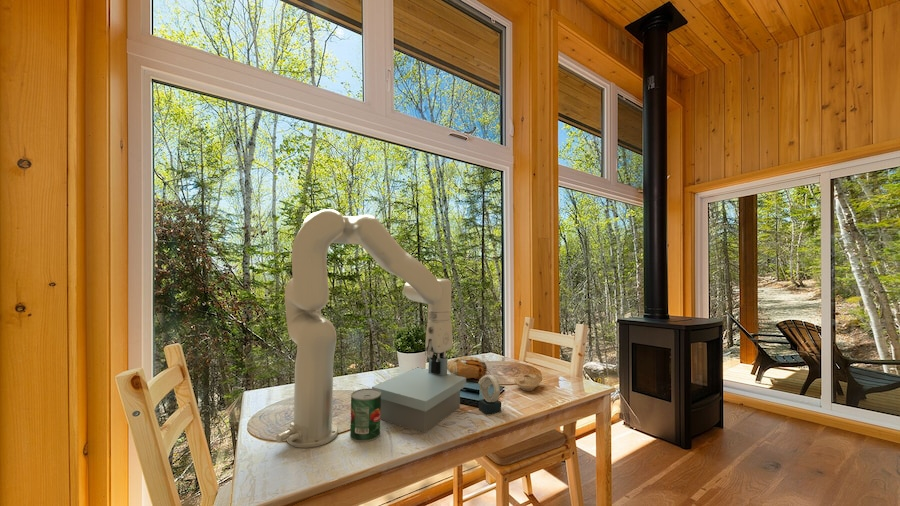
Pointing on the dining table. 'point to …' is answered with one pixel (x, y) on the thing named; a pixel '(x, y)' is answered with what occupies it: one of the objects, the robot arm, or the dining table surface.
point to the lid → (421, 387)
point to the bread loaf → (467, 367)
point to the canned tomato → (365, 415)
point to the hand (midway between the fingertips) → (437, 371)
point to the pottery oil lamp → (528, 381)
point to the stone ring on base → (489, 403)
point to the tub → (419, 413)
